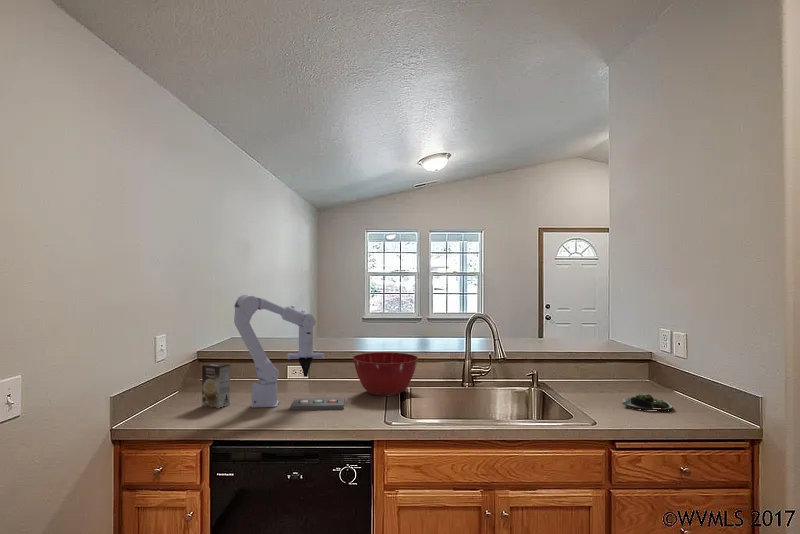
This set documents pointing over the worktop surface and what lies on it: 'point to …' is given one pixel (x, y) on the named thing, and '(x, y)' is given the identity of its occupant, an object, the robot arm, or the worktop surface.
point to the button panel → (317, 404)
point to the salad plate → (646, 403)
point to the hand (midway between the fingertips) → (305, 376)
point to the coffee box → (216, 384)
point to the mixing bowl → (385, 372)
